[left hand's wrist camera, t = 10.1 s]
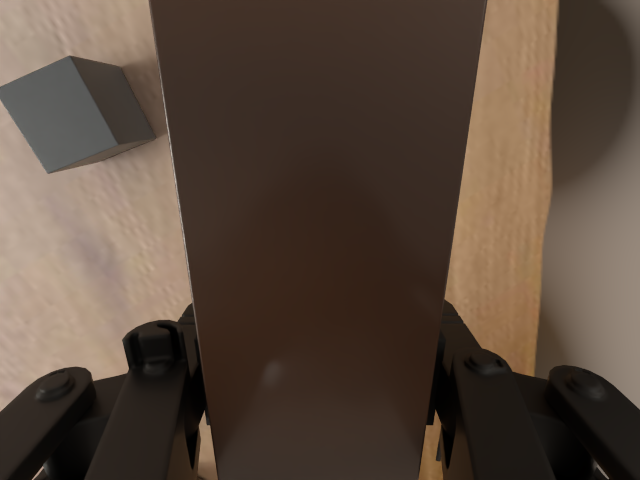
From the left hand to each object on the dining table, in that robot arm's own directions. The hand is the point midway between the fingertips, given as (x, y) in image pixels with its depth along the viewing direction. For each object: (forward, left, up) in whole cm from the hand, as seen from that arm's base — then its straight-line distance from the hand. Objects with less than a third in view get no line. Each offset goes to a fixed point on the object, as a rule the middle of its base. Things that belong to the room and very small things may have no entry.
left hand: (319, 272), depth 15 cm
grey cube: (+6, +15, -13) cm, 21 cm away
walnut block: (+10, 0, 0) cm, 10 cm away
